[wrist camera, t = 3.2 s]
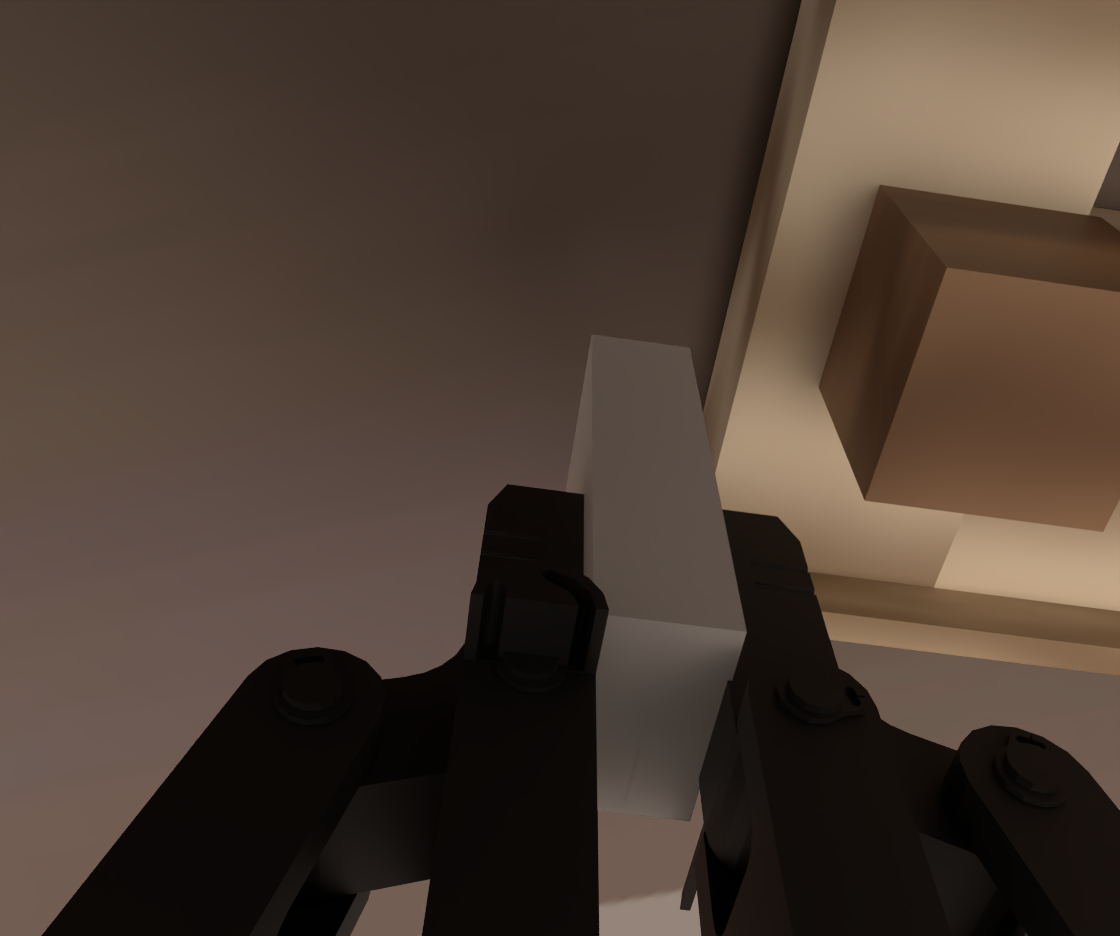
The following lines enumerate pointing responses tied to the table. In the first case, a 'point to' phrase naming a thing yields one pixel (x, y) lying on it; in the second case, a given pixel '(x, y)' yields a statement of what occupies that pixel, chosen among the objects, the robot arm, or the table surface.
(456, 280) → the table surface
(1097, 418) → the walnut block
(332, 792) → the robot arm
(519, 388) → the table surface
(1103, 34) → the trap box
